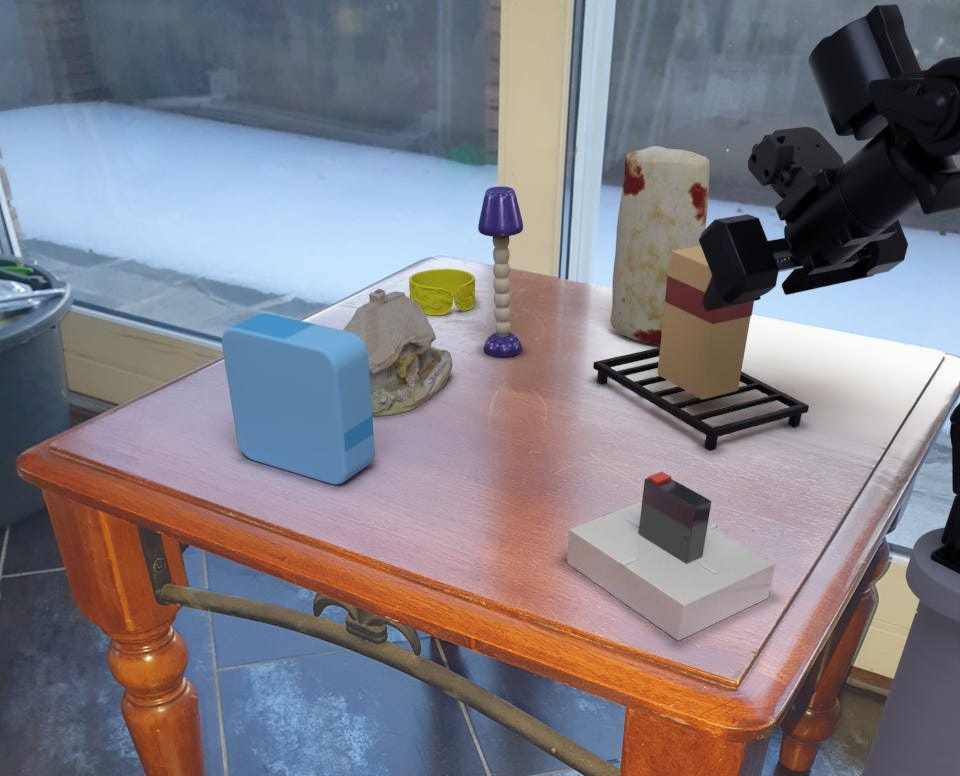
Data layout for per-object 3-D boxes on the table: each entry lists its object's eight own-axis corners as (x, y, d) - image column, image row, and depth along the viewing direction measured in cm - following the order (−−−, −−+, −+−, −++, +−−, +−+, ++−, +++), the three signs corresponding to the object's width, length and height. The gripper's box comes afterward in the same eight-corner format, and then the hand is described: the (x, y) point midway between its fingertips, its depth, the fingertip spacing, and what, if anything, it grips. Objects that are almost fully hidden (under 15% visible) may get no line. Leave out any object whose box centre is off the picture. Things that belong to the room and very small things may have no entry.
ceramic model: (379, 427, 94) (373, 323, 88) (296, 398, 99) (284, 297, 93) (470, 380, 103) (470, 283, 97) (389, 356, 108) (384, 262, 102)
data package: (377, 468, 87) (368, 334, 80) (346, 489, 84) (334, 352, 77) (271, 437, 92) (253, 309, 85) (238, 457, 89) (217, 325, 82)
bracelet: (399, 301, 123) (398, 274, 121) (456, 291, 126) (456, 265, 124) (426, 319, 118) (425, 291, 116) (485, 308, 121) (485, 280, 119)
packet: (692, 366, 101) (709, 243, 94) (739, 390, 96) (760, 263, 89) (655, 374, 99) (670, 250, 92) (701, 400, 94) (720, 271, 87)
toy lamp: (483, 359, 108) (484, 195, 98) (473, 344, 111) (473, 184, 101) (526, 356, 109) (531, 193, 98) (515, 340, 112) (518, 182, 102)
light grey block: (769, 597, 72) (777, 560, 70) (677, 641, 67) (683, 603, 66) (654, 527, 79) (659, 492, 78) (565, 563, 75) (567, 527, 73)
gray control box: (702, 556, 70) (712, 497, 68) (686, 563, 70) (695, 504, 67) (654, 527, 74) (661, 469, 71) (638, 533, 73) (644, 475, 70)
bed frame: (804, 426, 95) (809, 405, 93) (708, 453, 90) (712, 431, 89) (681, 361, 108) (683, 341, 106) (592, 381, 103) (593, 361, 102)
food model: (598, 340, 112) (613, 146, 100) (621, 322, 117) (638, 135, 105) (679, 356, 108) (705, 157, 96) (700, 337, 113) (727, 145, 101)
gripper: (918, 85, 78) (791, 202, 92) (734, 105, 71) (628, 228, 85) (970, 214, 77) (834, 312, 92) (790, 247, 70) (674, 348, 85)
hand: (745, 297), depth 88 cm, fingers open, 9 cm apart
